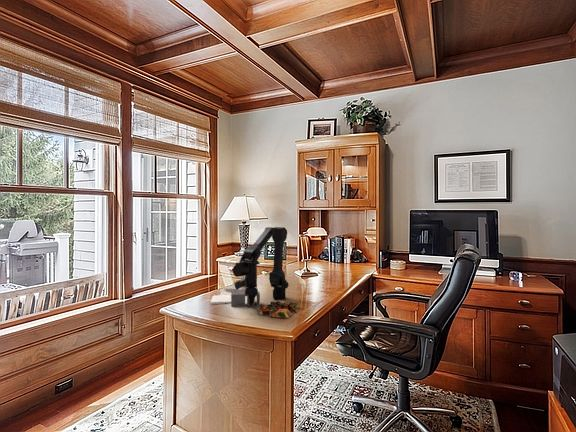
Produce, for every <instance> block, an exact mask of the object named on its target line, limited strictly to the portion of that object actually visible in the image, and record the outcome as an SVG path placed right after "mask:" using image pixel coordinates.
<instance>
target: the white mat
mask: <svg viewBox="0 0 576 432" xmlns="http://www.w3.org/2000/svg"><path fill="white" fill-rule="evenodd" d="M209 303H210V305H222V304H224V305H225V303H231V294H229V295H228V294H227V295H226V294H225V295H223V294H222V295H212V297H211V300H210V302H209Z"/></svg>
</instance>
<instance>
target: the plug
mask: <svg viewBox="0 0 576 432" xmlns="http://www.w3.org/2000/svg"><path fill="white" fill-rule="evenodd" d="M255 301H256V298H255V299H254V302H253V304H252V305H250V302H249V297H248V296H246V304H247V307H248V308H254V307H255V305H256V304H255V303H256V302H255Z"/></svg>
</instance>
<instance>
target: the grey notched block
mask: <svg viewBox="0 0 576 432" xmlns="http://www.w3.org/2000/svg"><path fill="white" fill-rule="evenodd" d="M230 293H231V294H230V295H231V304H230V306H231V307H245V306H246V297H247V296H248V295H245V292H230ZM260 301H261V295H260V291H258V294H257V295H256V307H257V306H258V307H259V306H260V307H261V305H260V304H261V302H260Z"/></svg>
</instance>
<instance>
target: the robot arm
mask: <svg viewBox="0 0 576 432" xmlns="http://www.w3.org/2000/svg"><path fill="white" fill-rule="evenodd" d="M287 238H288V230H287V228H286V227H285V226H284V227H281V226H274V227H271V226H270V227H269V226H267V227H265V228H264V230H263V232H262V233H261V234H260V235H259V236H258V238H257V239H256V240H255V242H254V243H253V244H250V245H249V246H247V248H245V249H244V251H243V254H242V255H241V257H240V259H239V261H238V262H235V265H234V266H233V268H232V274H233V275H234V277H236V278H240V277H241V276H244V279H241V278H240V279H238V280H236V281H234V282H233V285H234V287H235V288H236V290H237V289H239V288H241V287H244V286H245V288H246V289H245V295H248V297H249V302H250V305H252V304H253V302H254V299H255V300H256V298H257V296H256V295H257V294H258V292H259V289H258V265H260V261H259V258H260V257H261V255H262V249H264V247H265V246H266V244H267V243H268V242H269V240H271V239H272V240H273V242H274V247H273V248H274V249H273V268H272V270H271V271H270V272H269V278H268V280H269V283H270V287H271V288H273V289H272V298H273V301H274V300H275V301H278V300H286V299H287V298H286V290H287V289H288V288H289V282H288V281H287V279H286V274H285V271H284V270H283V266H284V265H283V264H284V263H283V262H284V261H283V260H284V243H285V241H286V240H287Z"/></svg>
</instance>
